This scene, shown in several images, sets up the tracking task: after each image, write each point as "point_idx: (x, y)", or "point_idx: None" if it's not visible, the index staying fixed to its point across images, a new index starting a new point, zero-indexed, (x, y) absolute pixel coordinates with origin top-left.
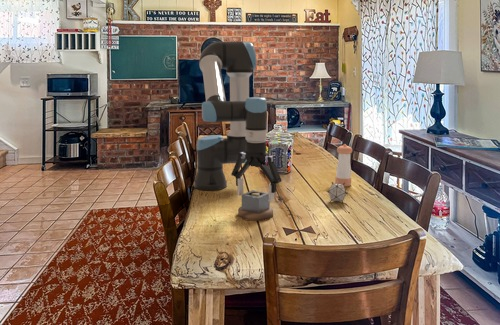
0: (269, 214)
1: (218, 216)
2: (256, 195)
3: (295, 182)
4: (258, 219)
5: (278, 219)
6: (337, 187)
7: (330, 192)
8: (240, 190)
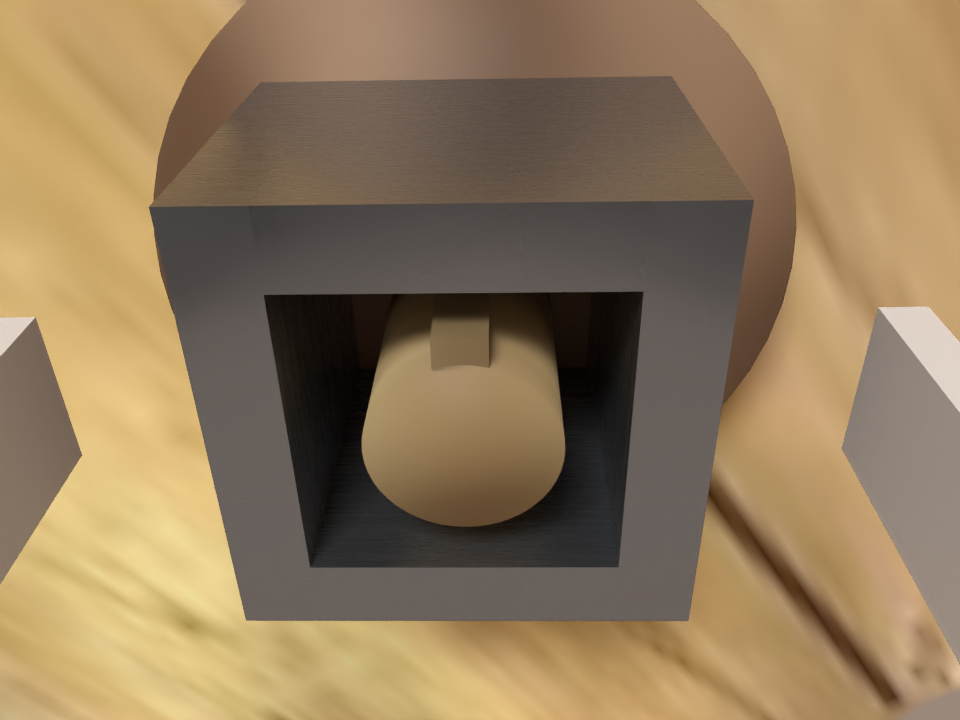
0: (778, 293)
1: (114, 528)
2: (531, 501)
3: None
4: None
5: (907, 210)
6: None
7: None
8: (15, 487)
